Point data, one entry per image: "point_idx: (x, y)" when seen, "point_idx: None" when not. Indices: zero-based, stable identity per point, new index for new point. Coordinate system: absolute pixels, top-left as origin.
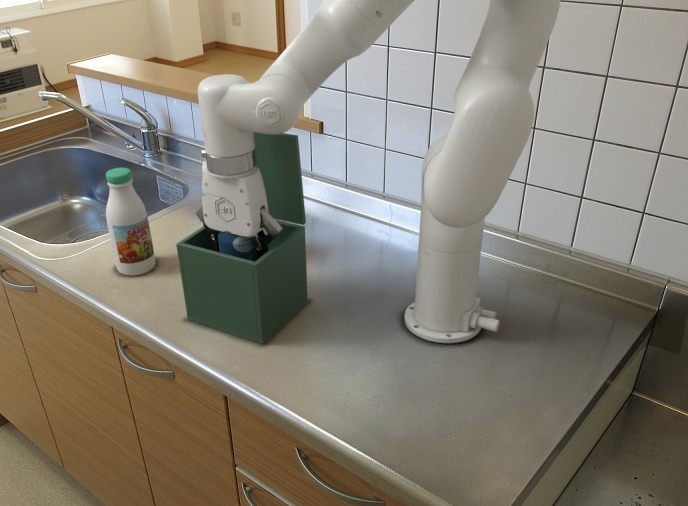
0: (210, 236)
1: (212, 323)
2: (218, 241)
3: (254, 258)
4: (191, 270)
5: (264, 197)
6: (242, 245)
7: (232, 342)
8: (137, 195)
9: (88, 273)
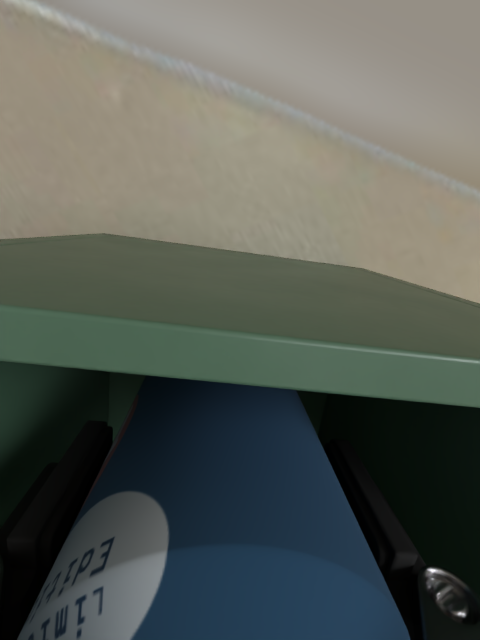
0: (467, 592)
1: (279, 258)
2: (369, 553)
3: (65, 480)
4: (441, 305)
5: None
6: (83, 561)
7: (190, 213)
8: None
9: None
